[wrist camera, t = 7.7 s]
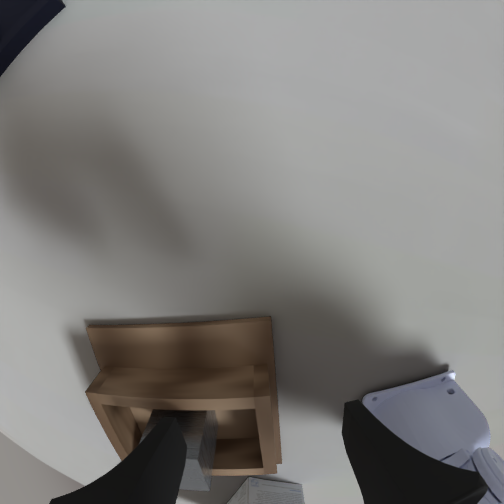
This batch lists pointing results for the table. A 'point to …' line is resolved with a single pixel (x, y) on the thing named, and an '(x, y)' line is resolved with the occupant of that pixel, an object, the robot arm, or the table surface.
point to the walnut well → (192, 385)
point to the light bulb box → (268, 492)
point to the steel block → (193, 444)
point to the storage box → (22, 25)
